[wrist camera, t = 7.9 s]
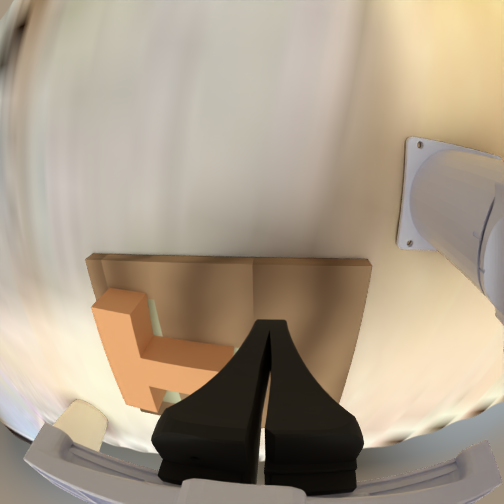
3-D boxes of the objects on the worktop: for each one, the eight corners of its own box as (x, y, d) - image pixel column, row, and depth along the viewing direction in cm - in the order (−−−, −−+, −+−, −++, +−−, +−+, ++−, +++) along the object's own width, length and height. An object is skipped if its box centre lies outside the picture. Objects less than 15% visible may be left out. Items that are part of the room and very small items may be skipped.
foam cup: (124, 421, 32) (92, 491, 20) (109, 435, 36) (83, 493, 24) (69, 384, 31) (27, 448, 19) (62, 404, 34) (29, 458, 22)
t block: (234, 303, 21) (227, 328, 18) (233, 402, 25) (229, 426, 23) (109, 287, 21) (91, 306, 19) (136, 384, 26) (125, 404, 23)
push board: (367, 259, 20) (372, 266, 18) (329, 419, 27) (330, 427, 26) (92, 253, 22) (85, 259, 21) (144, 404, 29) (141, 411, 28)
